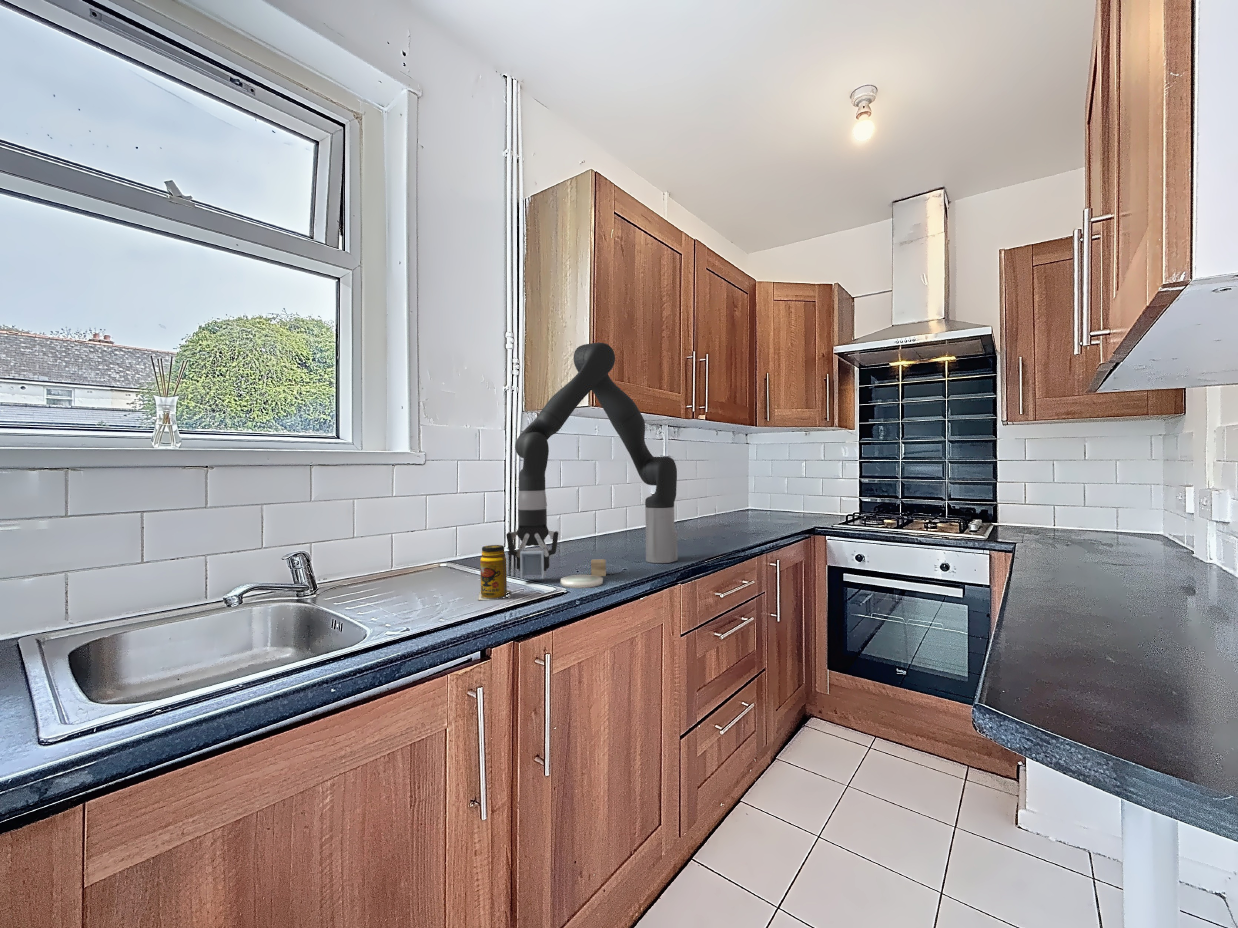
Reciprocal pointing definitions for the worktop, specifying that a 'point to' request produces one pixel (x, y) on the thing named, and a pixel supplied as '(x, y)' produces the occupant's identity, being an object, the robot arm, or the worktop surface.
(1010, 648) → the worktop surface
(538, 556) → the cover
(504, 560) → the condiment
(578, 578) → the dish
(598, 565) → the block
